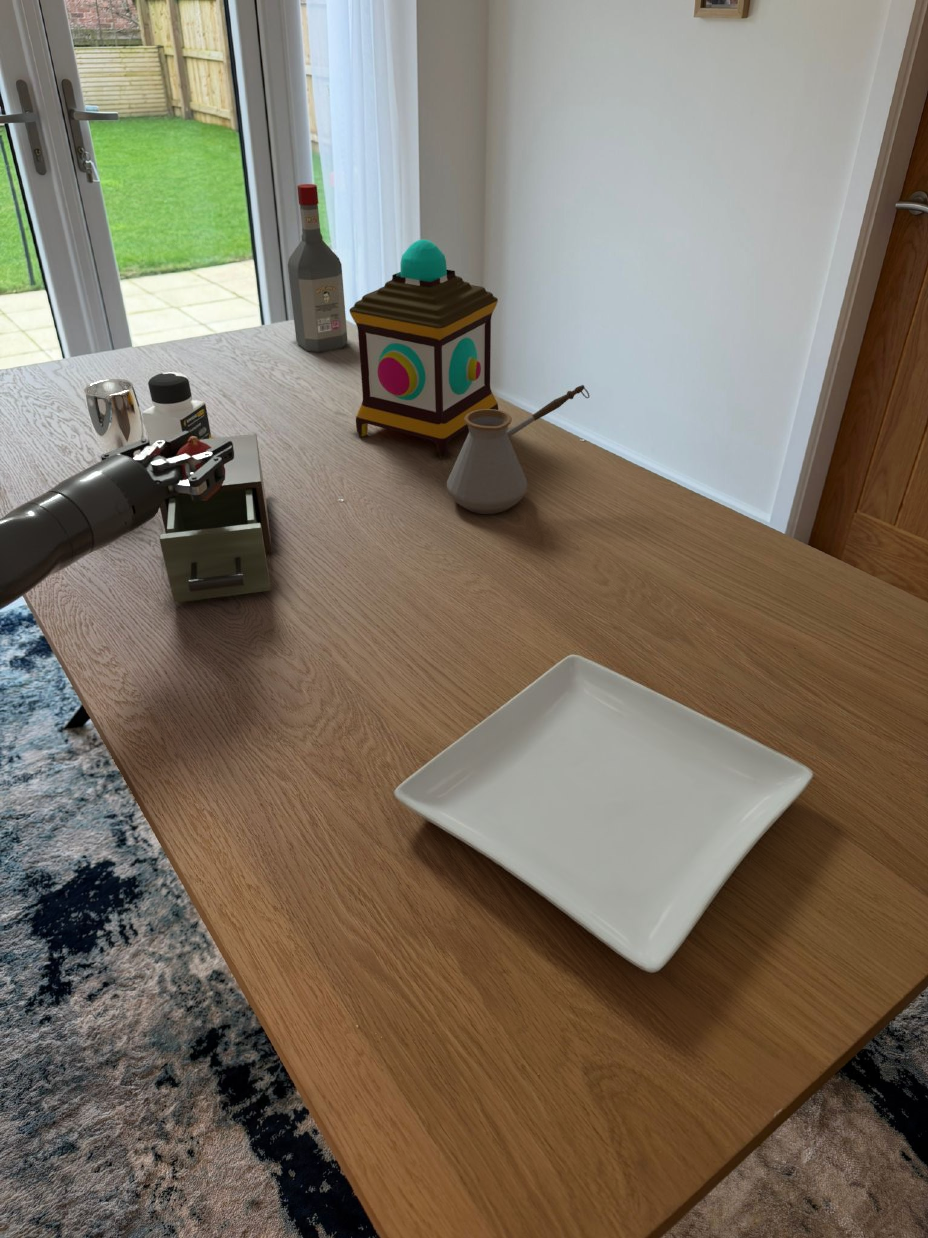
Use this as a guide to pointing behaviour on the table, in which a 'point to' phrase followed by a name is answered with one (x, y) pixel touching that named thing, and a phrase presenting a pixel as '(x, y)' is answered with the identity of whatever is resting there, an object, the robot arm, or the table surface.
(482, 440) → the coffee pot
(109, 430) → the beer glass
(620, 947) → the square plate
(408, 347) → the decorative lantern
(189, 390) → the medicine bottle
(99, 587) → the table surface
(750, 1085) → the table surface
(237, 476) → the cabinet
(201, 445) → the onion
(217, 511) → the drawer
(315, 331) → the liquor
